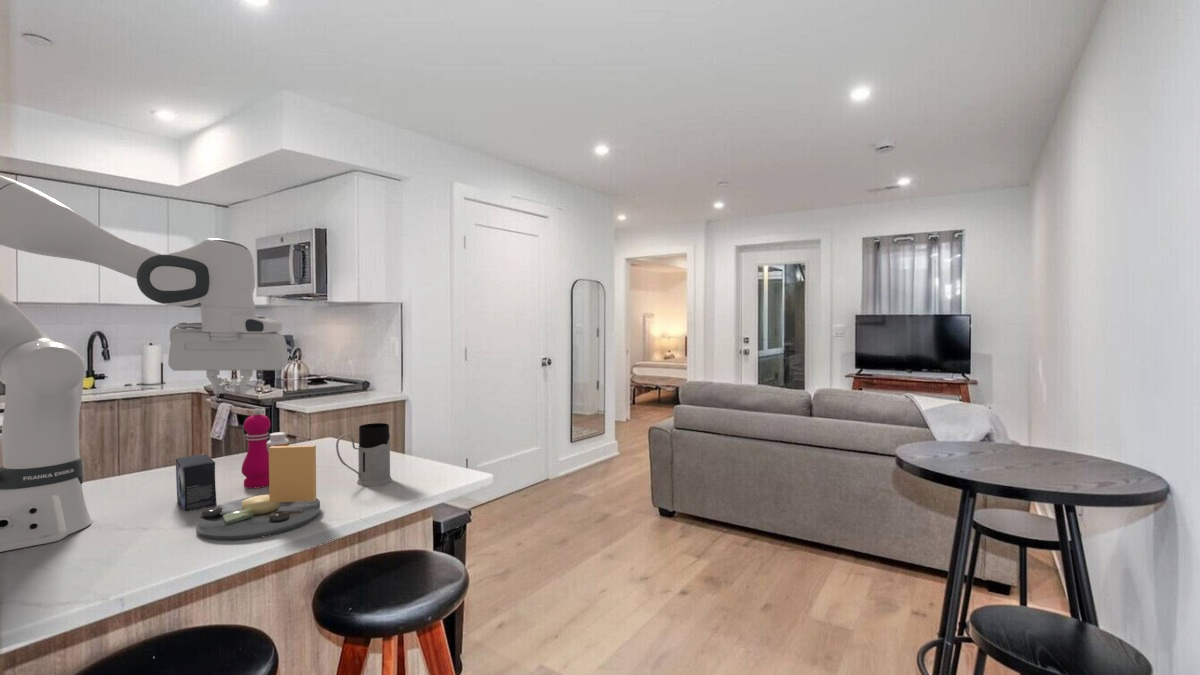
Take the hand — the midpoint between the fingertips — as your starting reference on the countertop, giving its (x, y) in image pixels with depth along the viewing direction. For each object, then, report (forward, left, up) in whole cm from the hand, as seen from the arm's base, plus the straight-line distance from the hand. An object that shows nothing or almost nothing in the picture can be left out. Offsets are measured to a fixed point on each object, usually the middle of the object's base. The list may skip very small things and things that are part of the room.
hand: (230, 393), depth 110 cm
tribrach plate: (+8, +7, -29) cm, 31 cm away
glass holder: (+36, +14, -29) cm, 48 cm away
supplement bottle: (+28, +46, -29) cm, 61 cm away
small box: (+3, +30, -29) cm, 42 cm away
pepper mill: (+18, +34, -29) cm, 48 cm away
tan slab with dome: (+11, +4, -27) cm, 29 cm away
